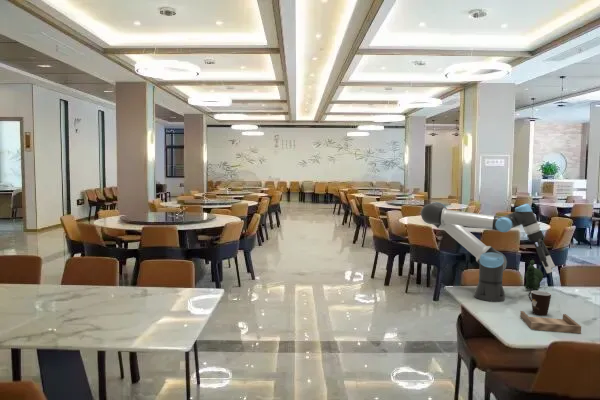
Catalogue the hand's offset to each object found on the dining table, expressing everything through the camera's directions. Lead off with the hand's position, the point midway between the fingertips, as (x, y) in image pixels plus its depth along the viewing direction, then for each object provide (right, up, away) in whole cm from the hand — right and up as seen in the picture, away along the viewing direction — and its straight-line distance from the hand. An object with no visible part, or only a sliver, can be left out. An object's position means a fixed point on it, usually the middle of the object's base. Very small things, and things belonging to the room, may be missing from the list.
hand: (551, 270), depth 252 cm
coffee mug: (-17, -18, -22) cm, 33 cm away
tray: (-22, -18, -40) cm, 49 cm away
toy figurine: (+3, -15, +28) cm, 32 cm away
